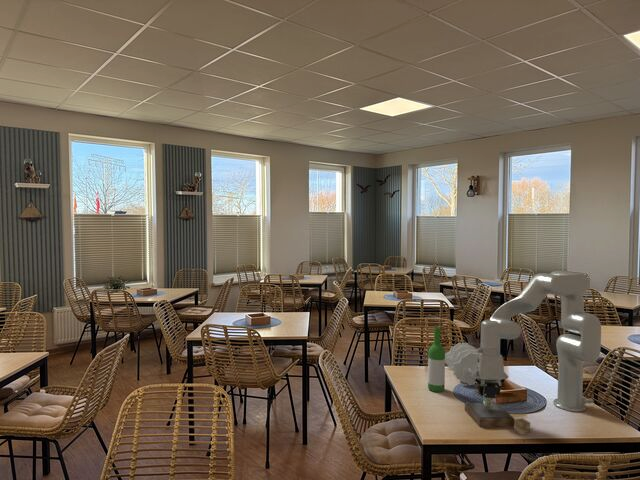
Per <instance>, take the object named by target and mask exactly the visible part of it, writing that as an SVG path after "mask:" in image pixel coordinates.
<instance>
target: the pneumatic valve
mask: <svg viewBox="0 0 640 480" xmlns="http://www.w3.org/2000/svg"><path fill="white" fill-rule="evenodd" d="M497 383H498V381H497V380H484V383H483V386H484V392H483V395H484V396H482V397H483V401H482V403H484V406H491V407H493V403H494V399H497V398H498V397H499V396H498V392H499V388H498V386H497Z"/></svg>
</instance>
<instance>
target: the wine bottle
mask: <svg viewBox="0 0 640 480" xmlns="http://www.w3.org/2000/svg"><path fill="white" fill-rule="evenodd" d="M445 353H446V350H445V348H444V347H443V345H442V344H441V327H439V326H436V327H434V328H433V344H431V346H429V348H428V356H427V357H428V360H427V362H428V363H427V365H428V366H427V388H428V390H430V391H432V392H434V393H441V392H443V391H445V382H446V381H445V379H446V378H445V377H446V374H445V373H446V363H445V361H446V359H445Z"/></svg>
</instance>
